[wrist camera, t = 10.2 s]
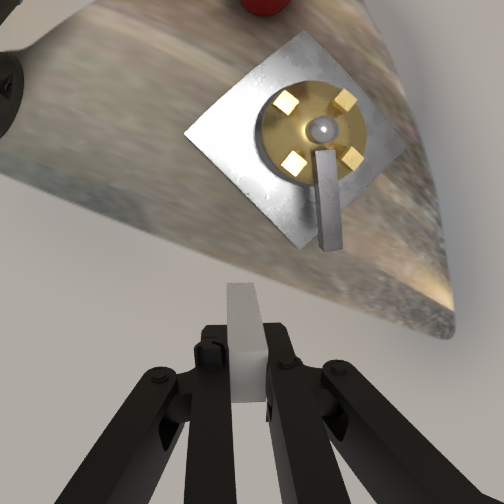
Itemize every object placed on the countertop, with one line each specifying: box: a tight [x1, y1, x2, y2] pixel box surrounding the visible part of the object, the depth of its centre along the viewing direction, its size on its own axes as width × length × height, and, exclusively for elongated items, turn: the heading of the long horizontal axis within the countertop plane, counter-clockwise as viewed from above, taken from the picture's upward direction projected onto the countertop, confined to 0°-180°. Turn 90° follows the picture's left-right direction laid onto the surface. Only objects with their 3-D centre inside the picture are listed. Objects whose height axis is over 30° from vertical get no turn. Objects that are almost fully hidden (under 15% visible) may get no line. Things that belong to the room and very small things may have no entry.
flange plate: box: [184, 30, 407, 250], centre depth 35 cm, size 20×20×4 cm
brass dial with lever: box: [260, 80, 367, 252], centre depth 31 cm, size 18×11×6 cm, turn 7°
